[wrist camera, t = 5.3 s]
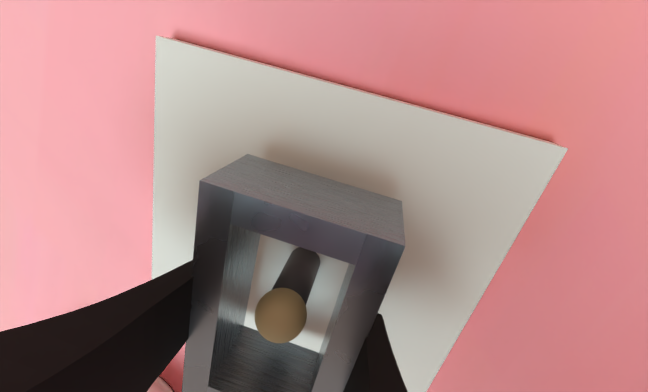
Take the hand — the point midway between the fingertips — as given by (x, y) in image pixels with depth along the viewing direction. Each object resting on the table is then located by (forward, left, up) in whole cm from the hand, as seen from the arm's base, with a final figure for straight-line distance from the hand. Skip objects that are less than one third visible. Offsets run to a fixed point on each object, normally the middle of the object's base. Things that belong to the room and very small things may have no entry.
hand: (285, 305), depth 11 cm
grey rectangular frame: (0, 0, -2) cm, 2 cm away
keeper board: (0, 0, -4) cm, 4 cm away
